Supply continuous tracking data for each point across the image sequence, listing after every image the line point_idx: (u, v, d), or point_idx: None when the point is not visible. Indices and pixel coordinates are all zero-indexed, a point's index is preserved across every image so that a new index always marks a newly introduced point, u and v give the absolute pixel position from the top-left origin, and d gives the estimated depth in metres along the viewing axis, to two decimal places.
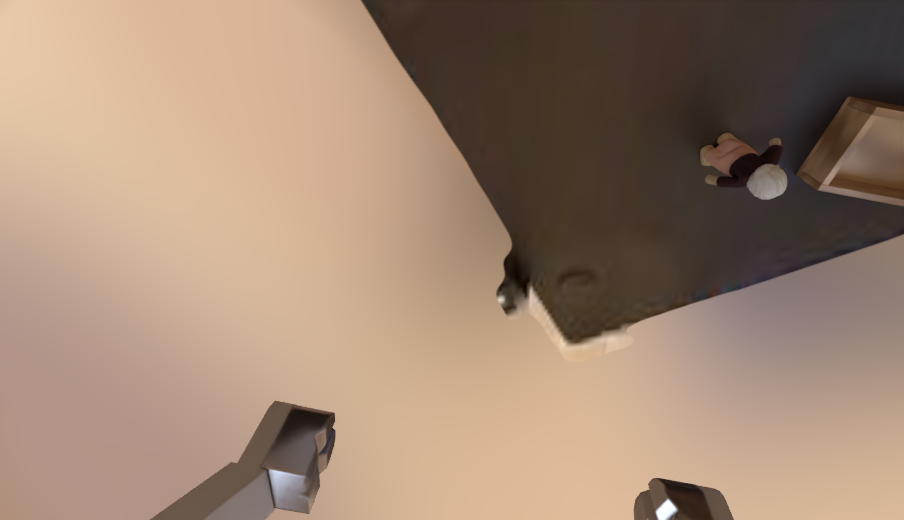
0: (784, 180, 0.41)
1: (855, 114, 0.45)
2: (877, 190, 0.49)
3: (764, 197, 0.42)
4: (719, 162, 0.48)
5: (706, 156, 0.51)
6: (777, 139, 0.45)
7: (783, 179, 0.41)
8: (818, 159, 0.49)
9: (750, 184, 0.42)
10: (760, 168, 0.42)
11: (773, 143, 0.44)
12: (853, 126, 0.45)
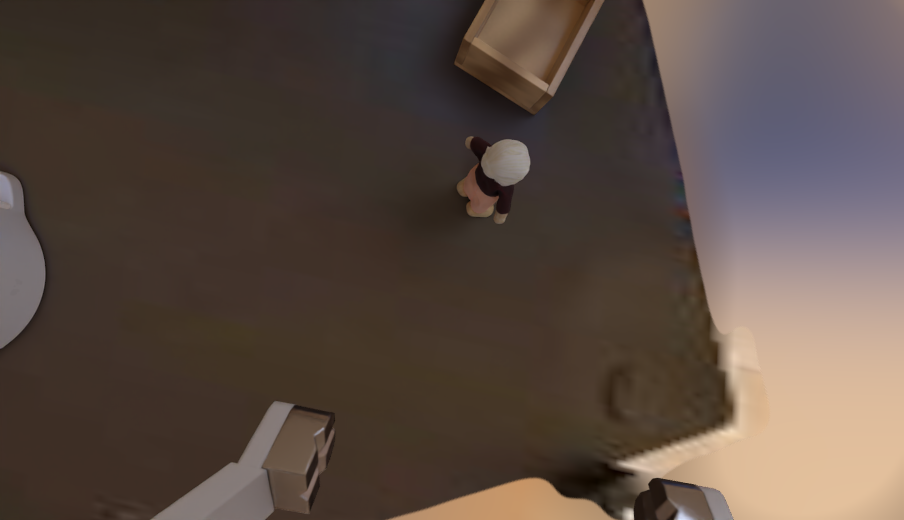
0: (507, 143, 0.29)
1: (470, 57, 0.39)
2: (573, 34, 0.41)
3: (524, 169, 0.29)
4: (483, 203, 0.37)
5: (477, 212, 0.40)
6: (466, 140, 0.35)
7: (504, 145, 0.29)
8: (517, 92, 0.40)
9: (503, 183, 0.30)
10: (484, 169, 0.30)
11: (468, 146, 0.35)
12: (483, 59, 0.38)
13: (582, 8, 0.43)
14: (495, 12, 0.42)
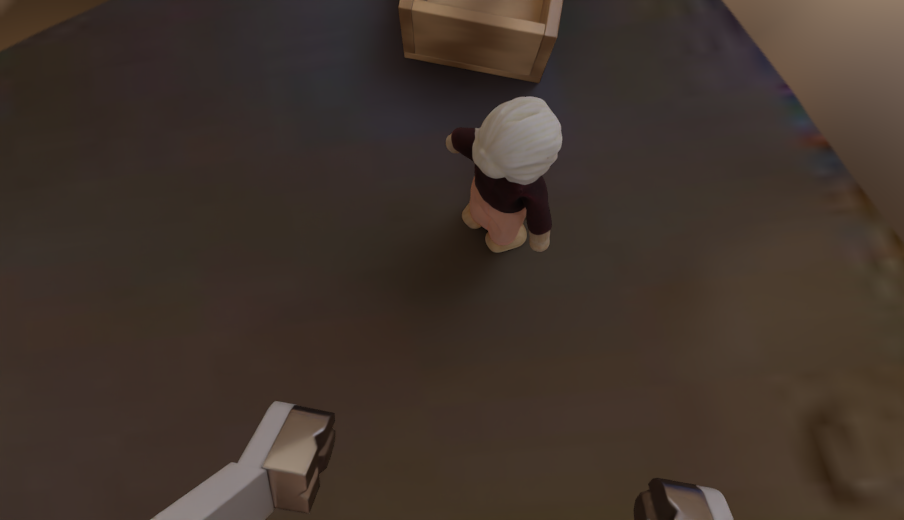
0: (506, 107, 0.16)
1: (421, 34, 0.27)
2: None
3: (554, 138, 0.15)
4: (506, 228, 0.23)
5: (503, 243, 0.26)
6: (447, 141, 0.22)
7: (502, 110, 0.16)
8: (503, 58, 0.27)
9: (524, 178, 0.16)
10: (482, 168, 0.16)
11: (452, 147, 0.21)
12: (437, 28, 0.26)
13: None
14: None
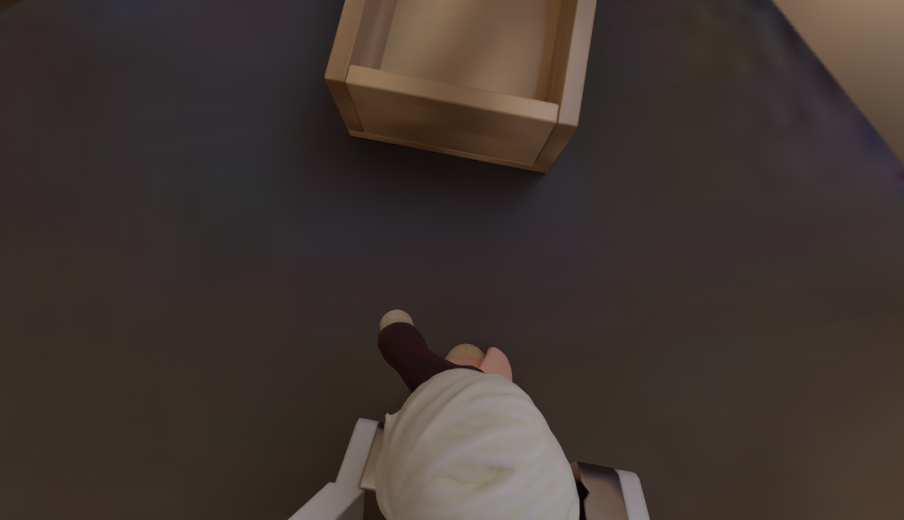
0: (438, 419, 0.06)
1: (367, 112, 0.17)
2: None
3: None
4: None
5: None
6: (381, 326, 0.13)
7: (428, 432, 0.06)
8: (494, 144, 0.18)
9: None
10: None
11: None
12: (390, 107, 0.17)
13: None
14: (402, 10, 0.20)
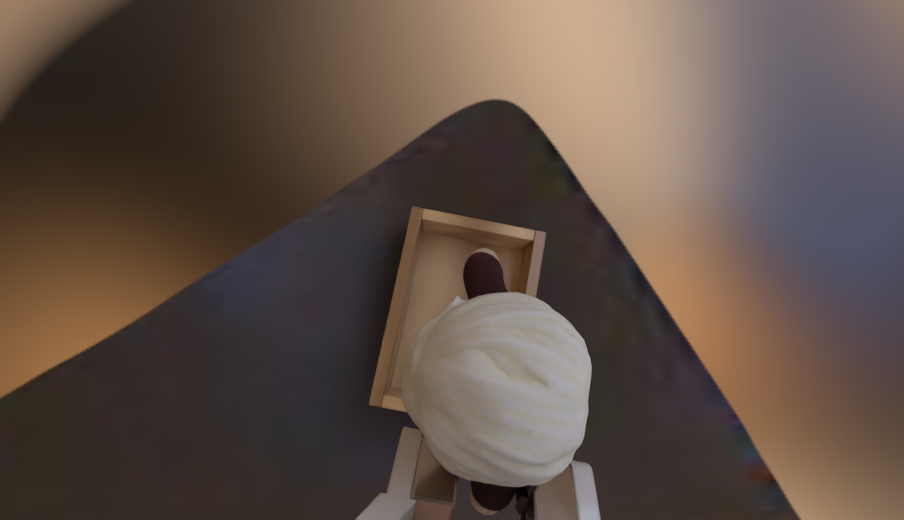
0: (508, 316, 0.07)
1: None
2: None
3: (542, 464, 0.06)
4: None
5: None
6: None
7: (495, 318, 0.07)
8: None
9: (447, 466, 0.07)
10: (403, 377, 0.08)
11: None
12: None
13: (520, 254, 0.33)
14: (411, 309, 0.32)
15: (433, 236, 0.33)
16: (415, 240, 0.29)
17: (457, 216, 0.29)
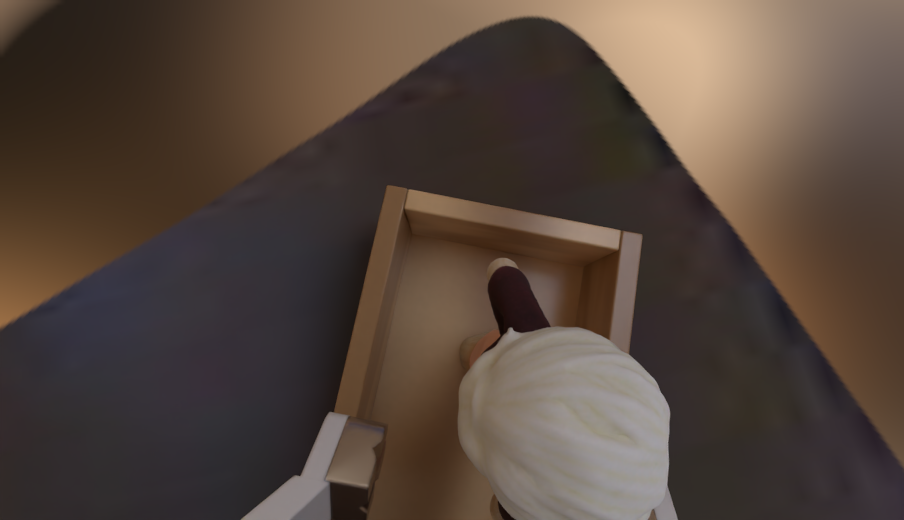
0: (583, 361, 0.07)
1: None
2: None
3: None
4: None
5: None
6: (492, 264, 0.13)
7: (570, 364, 0.06)
8: None
9: (513, 514, 0.07)
10: (459, 417, 0.07)
11: None
12: None
13: (579, 272, 0.19)
14: (390, 370, 0.18)
15: (428, 241, 0.19)
16: (392, 250, 0.15)
17: (473, 204, 0.15)
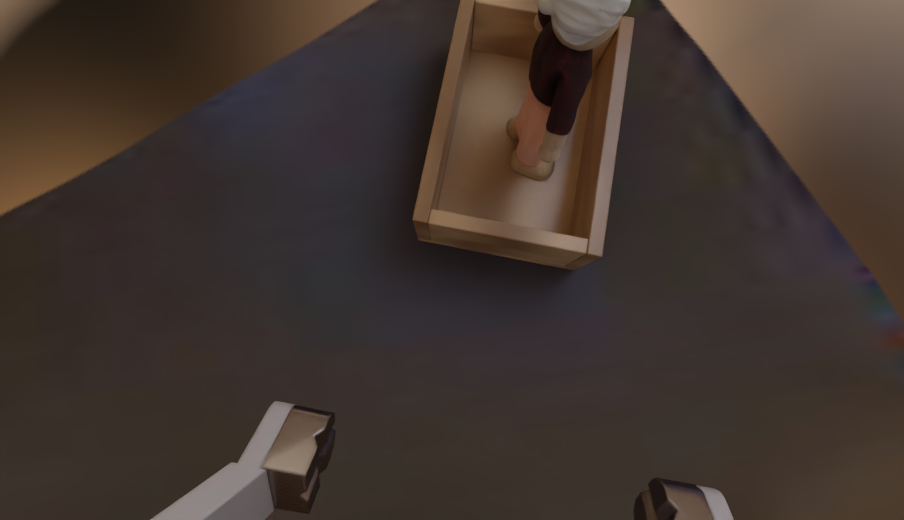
0: None
1: (438, 234, 0.23)
2: (595, 127, 0.23)
3: None
4: (532, 131, 0.21)
5: (523, 160, 0.24)
6: (538, 12, 0.20)
7: None
8: (535, 256, 0.23)
9: (566, 23, 0.14)
10: None
11: (537, 16, 0.20)
12: (458, 234, 0.22)
13: None
14: (458, 138, 0.26)
15: (482, 55, 0.27)
16: (468, 27, 0.23)
17: None
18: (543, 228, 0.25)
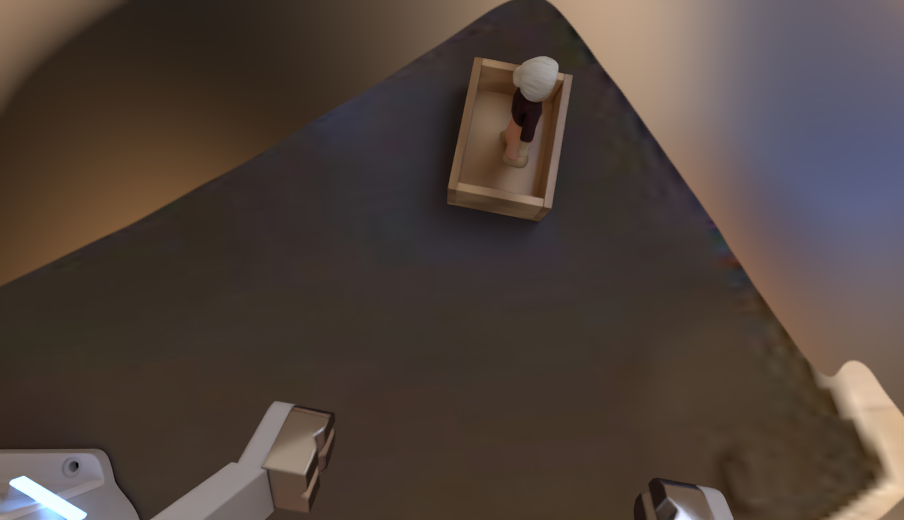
0: (540, 57, 0.31)
1: (460, 198, 0.40)
2: (551, 137, 0.41)
3: (548, 80, 0.31)
4: (514, 139, 0.39)
5: (509, 156, 0.41)
6: None
7: (538, 57, 0.31)
8: (515, 211, 0.40)
9: (526, 92, 0.32)
10: (513, 77, 0.32)
11: None
12: (472, 197, 0.39)
13: (550, 105, 0.44)
14: (470, 142, 0.43)
15: (485, 92, 0.44)
16: (477, 80, 0.40)
17: (507, 63, 0.40)
18: None
